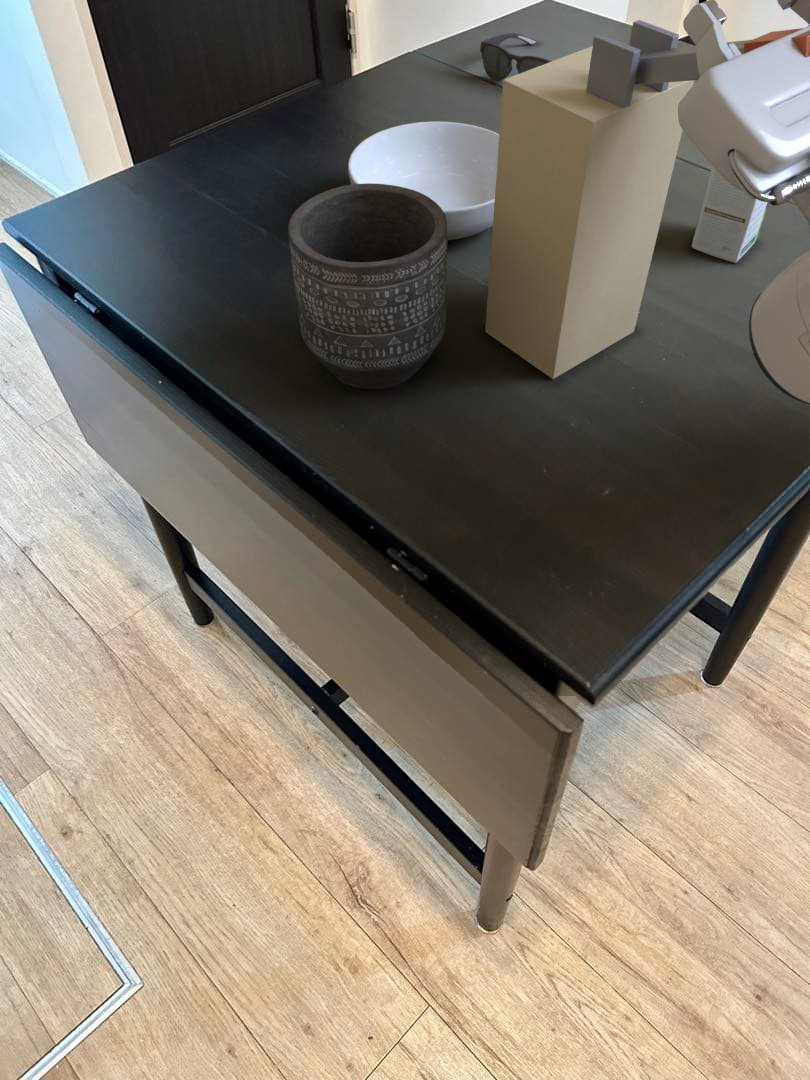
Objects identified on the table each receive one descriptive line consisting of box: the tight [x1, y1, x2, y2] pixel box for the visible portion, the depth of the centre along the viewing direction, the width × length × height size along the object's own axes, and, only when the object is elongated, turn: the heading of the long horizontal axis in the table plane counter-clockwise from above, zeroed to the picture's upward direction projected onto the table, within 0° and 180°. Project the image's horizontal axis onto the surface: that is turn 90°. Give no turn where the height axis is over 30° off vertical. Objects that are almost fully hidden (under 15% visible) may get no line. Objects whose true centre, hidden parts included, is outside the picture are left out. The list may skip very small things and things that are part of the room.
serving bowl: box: [347, 121, 499, 241], centre depth 99 cm, size 21×21×7 cm
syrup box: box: [691, 165, 770, 264], centre depth 91 cm, size 6×6×14 cm
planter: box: [287, 183, 448, 390], centre depth 79 cm, size 14×14×15 cm
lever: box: [634, 27, 810, 85], centre depth 59 cm, size 14×3×2 cm, turn 39°
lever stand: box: [484, 19, 695, 380], centre depth 76 cm, size 10×12×29 cm
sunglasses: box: [479, 32, 553, 83], centre depth 127 cm, size 16×17×5 cm
